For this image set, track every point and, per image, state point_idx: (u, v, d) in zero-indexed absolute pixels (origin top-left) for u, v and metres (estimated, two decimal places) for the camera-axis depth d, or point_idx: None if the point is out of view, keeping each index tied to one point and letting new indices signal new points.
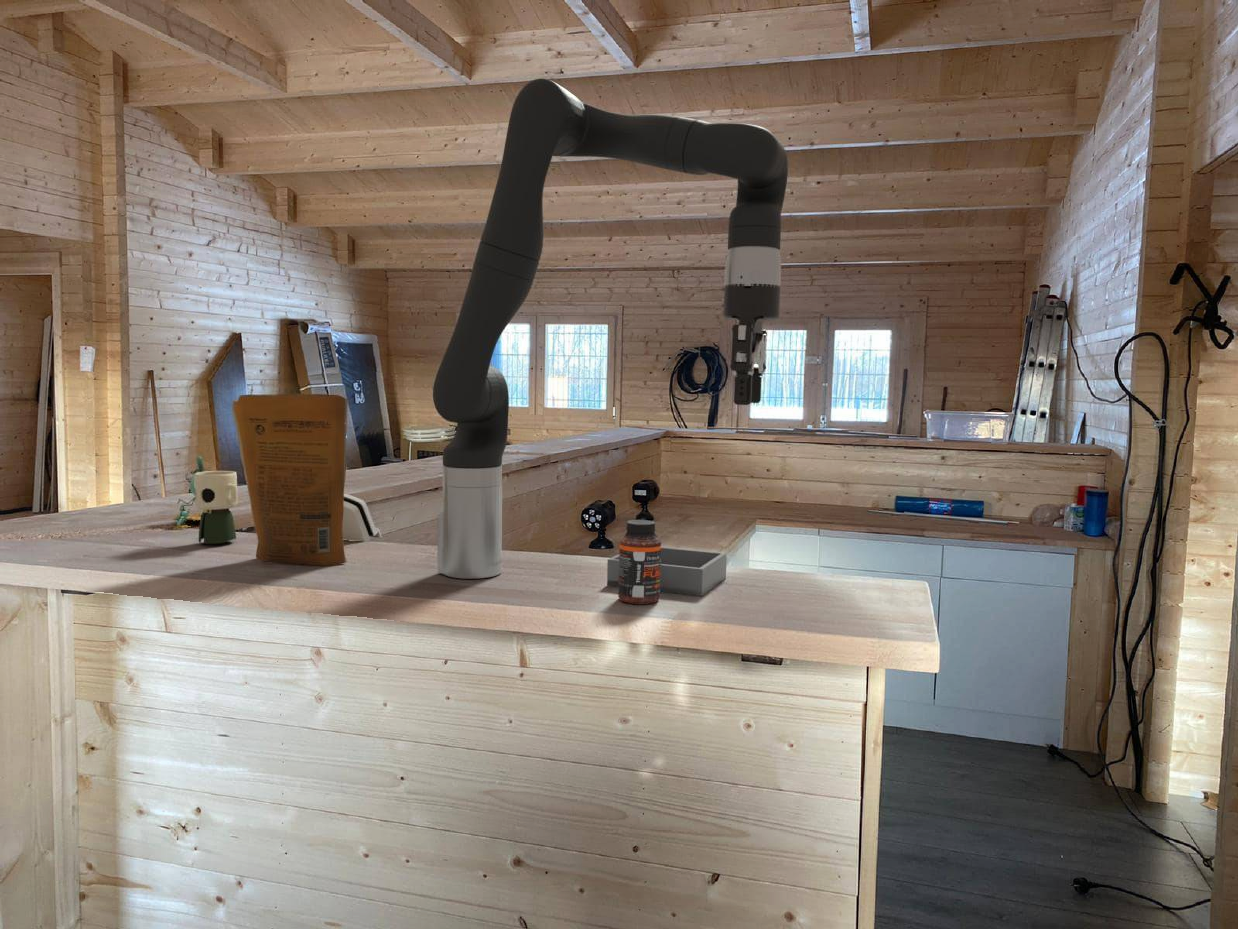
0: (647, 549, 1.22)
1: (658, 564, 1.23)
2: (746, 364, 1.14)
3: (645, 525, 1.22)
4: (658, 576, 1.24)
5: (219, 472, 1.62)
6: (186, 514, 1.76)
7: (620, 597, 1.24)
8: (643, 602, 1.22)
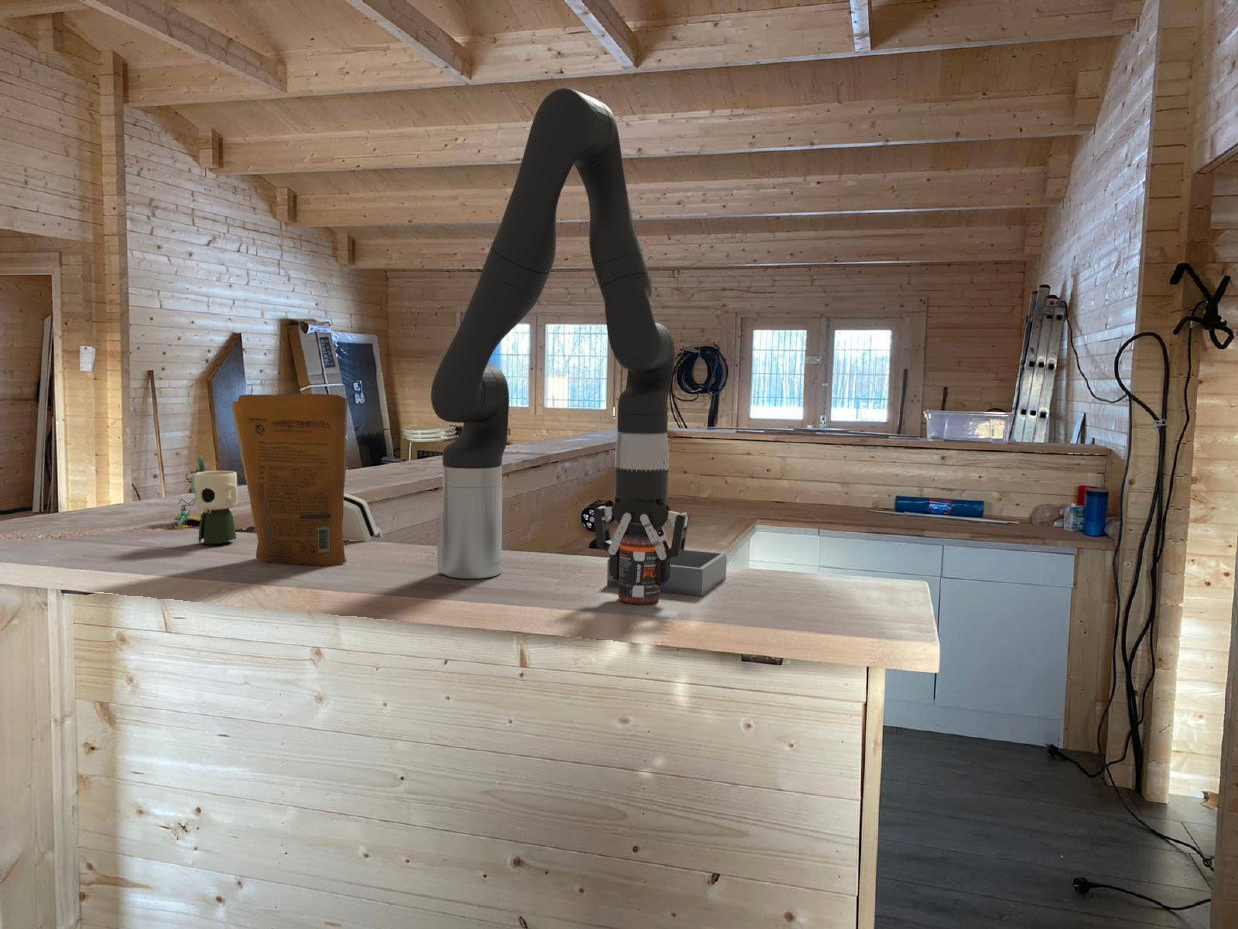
0: (647, 549, 1.22)
1: None
2: (682, 548, 1.23)
3: None
4: None
5: (219, 472, 1.62)
6: (187, 514, 1.76)
7: (620, 597, 1.24)
8: (643, 602, 1.22)
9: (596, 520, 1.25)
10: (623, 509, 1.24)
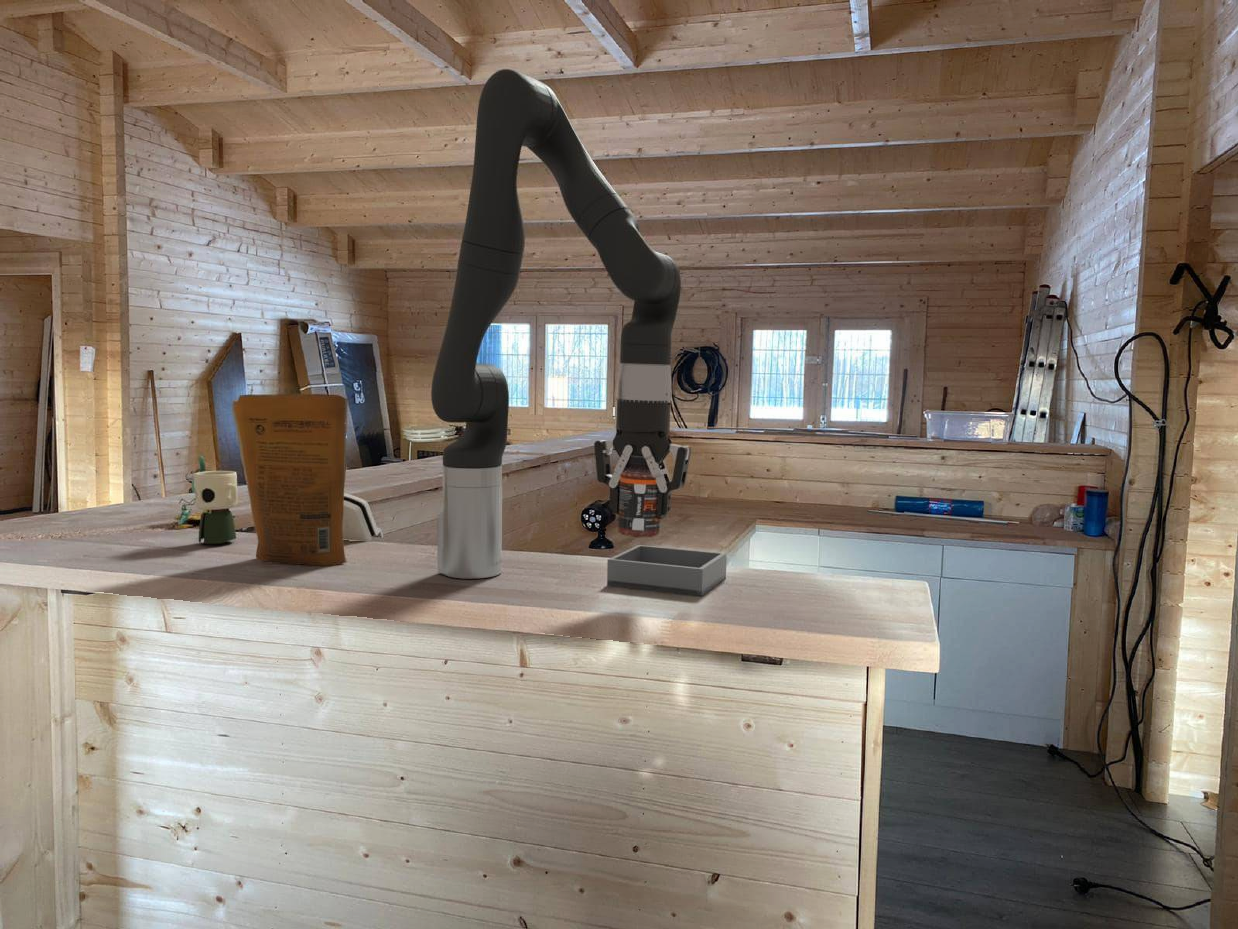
0: (648, 482, 1.21)
1: None
2: (683, 482, 1.22)
3: None
4: None
5: (219, 472, 1.62)
6: (188, 513, 1.76)
7: (620, 530, 1.23)
8: (643, 535, 1.22)
9: (597, 453, 1.25)
10: (624, 442, 1.23)
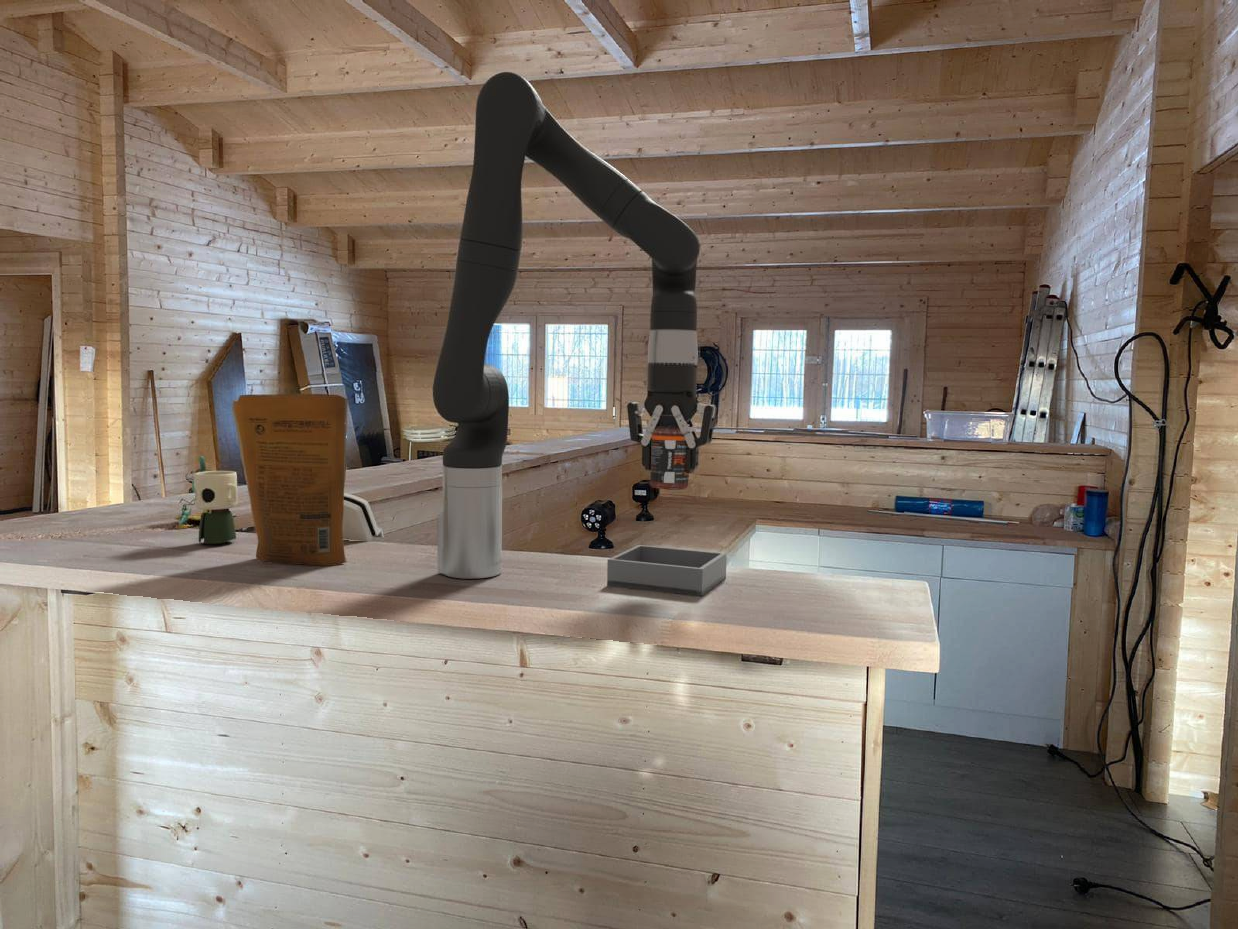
0: (677, 438, 1.32)
1: None
2: (710, 438, 1.33)
3: None
4: None
5: (219, 472, 1.62)
6: (188, 513, 1.76)
7: (652, 484, 1.34)
8: (674, 487, 1.32)
9: (630, 414, 1.35)
10: (655, 402, 1.34)
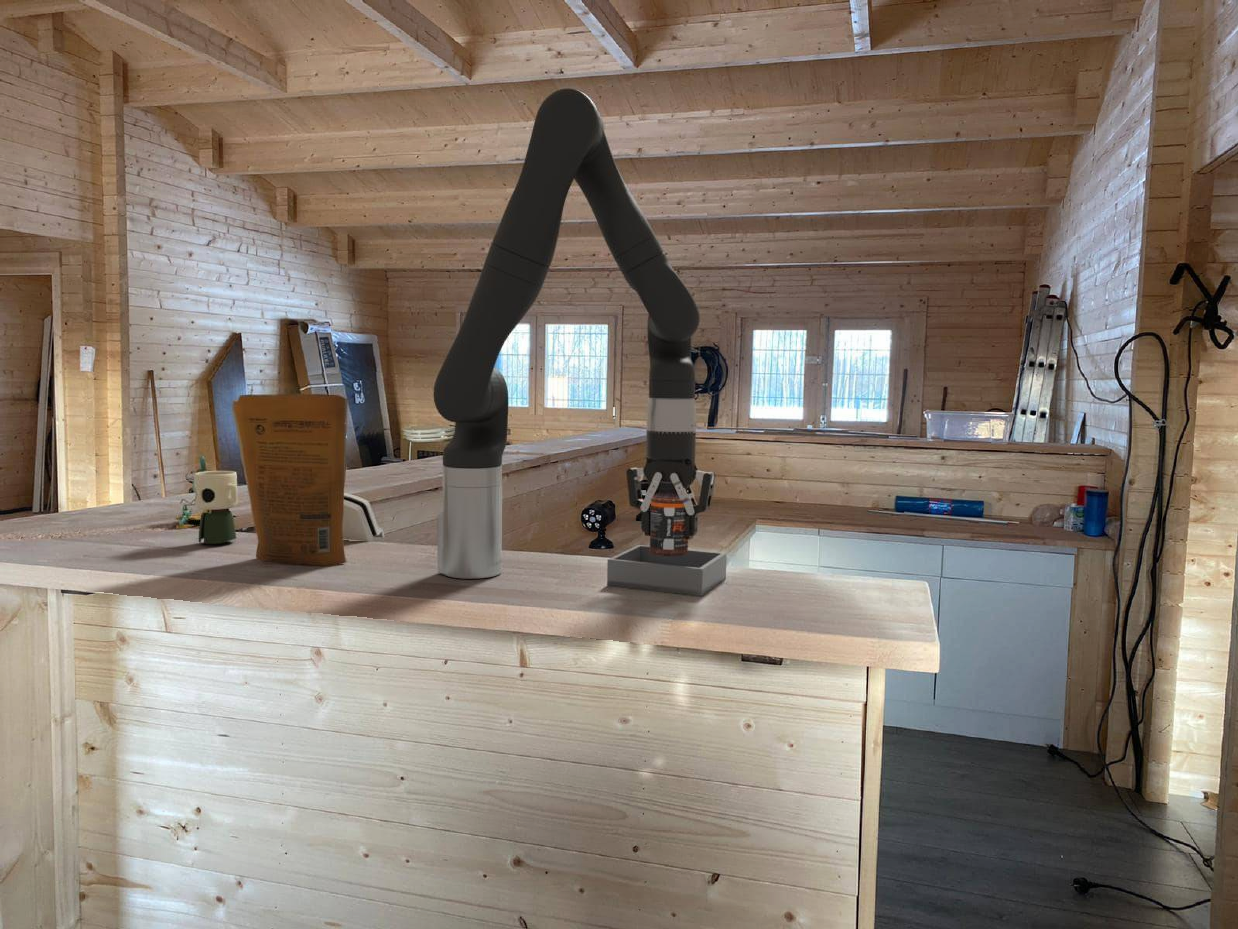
0: (676, 505, 1.33)
1: None
2: (709, 504, 1.34)
3: None
4: None
5: (219, 472, 1.62)
6: (189, 513, 1.77)
7: (652, 550, 1.35)
8: (673, 554, 1.33)
9: (629, 480, 1.36)
10: (654, 469, 1.35)
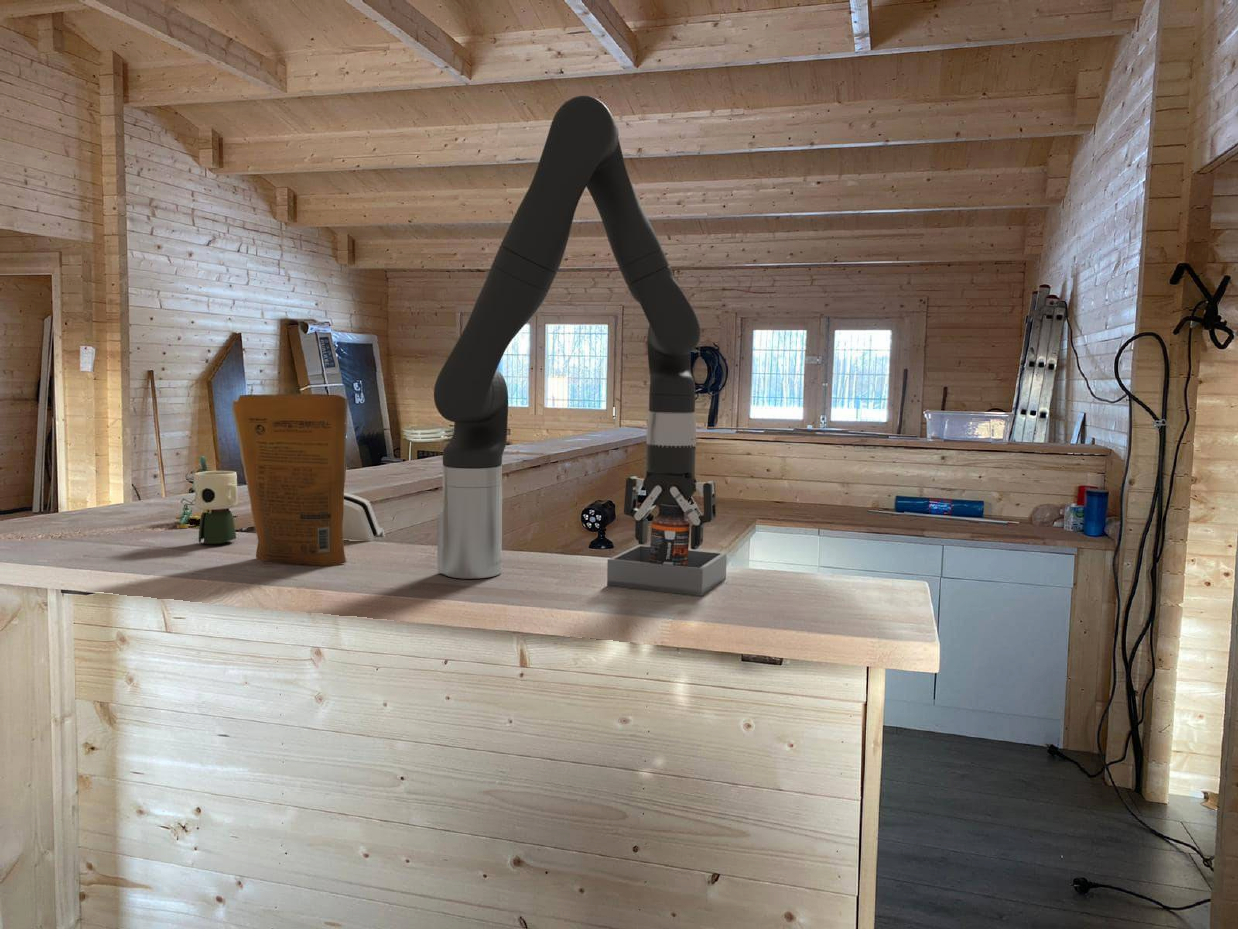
0: (677, 529, 1.33)
1: (686, 543, 1.35)
2: (715, 515, 1.34)
3: (676, 507, 1.34)
4: (686, 554, 1.35)
5: (219, 472, 1.62)
6: (189, 513, 1.77)
7: None
8: None
9: (627, 488, 1.37)
10: (654, 483, 1.35)
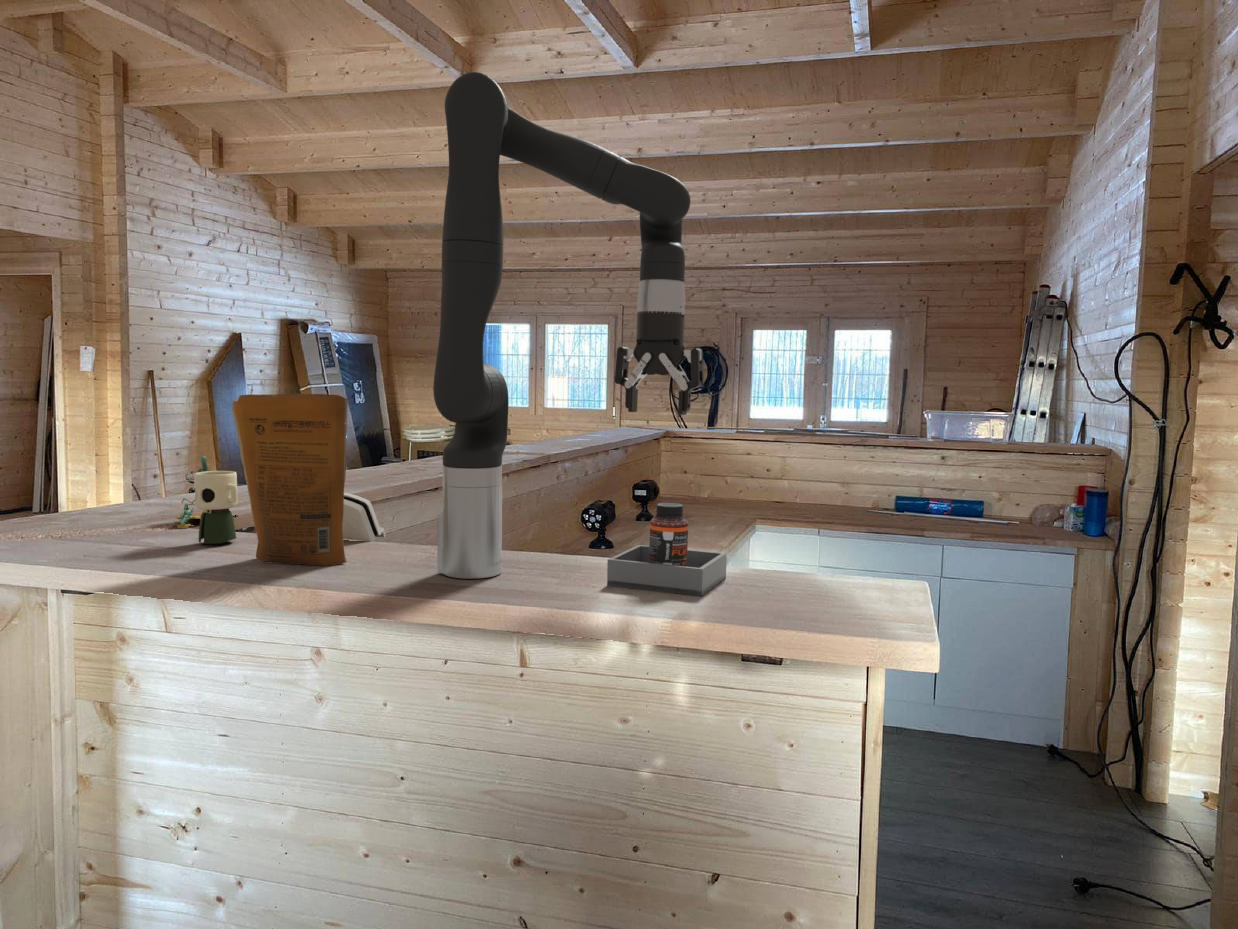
0: (675, 529, 1.33)
1: (685, 543, 1.35)
2: (702, 381, 1.38)
3: (674, 507, 1.34)
4: (685, 554, 1.35)
5: (219, 472, 1.62)
6: (190, 513, 1.77)
7: None
8: None
9: (618, 357, 1.41)
10: (644, 351, 1.40)
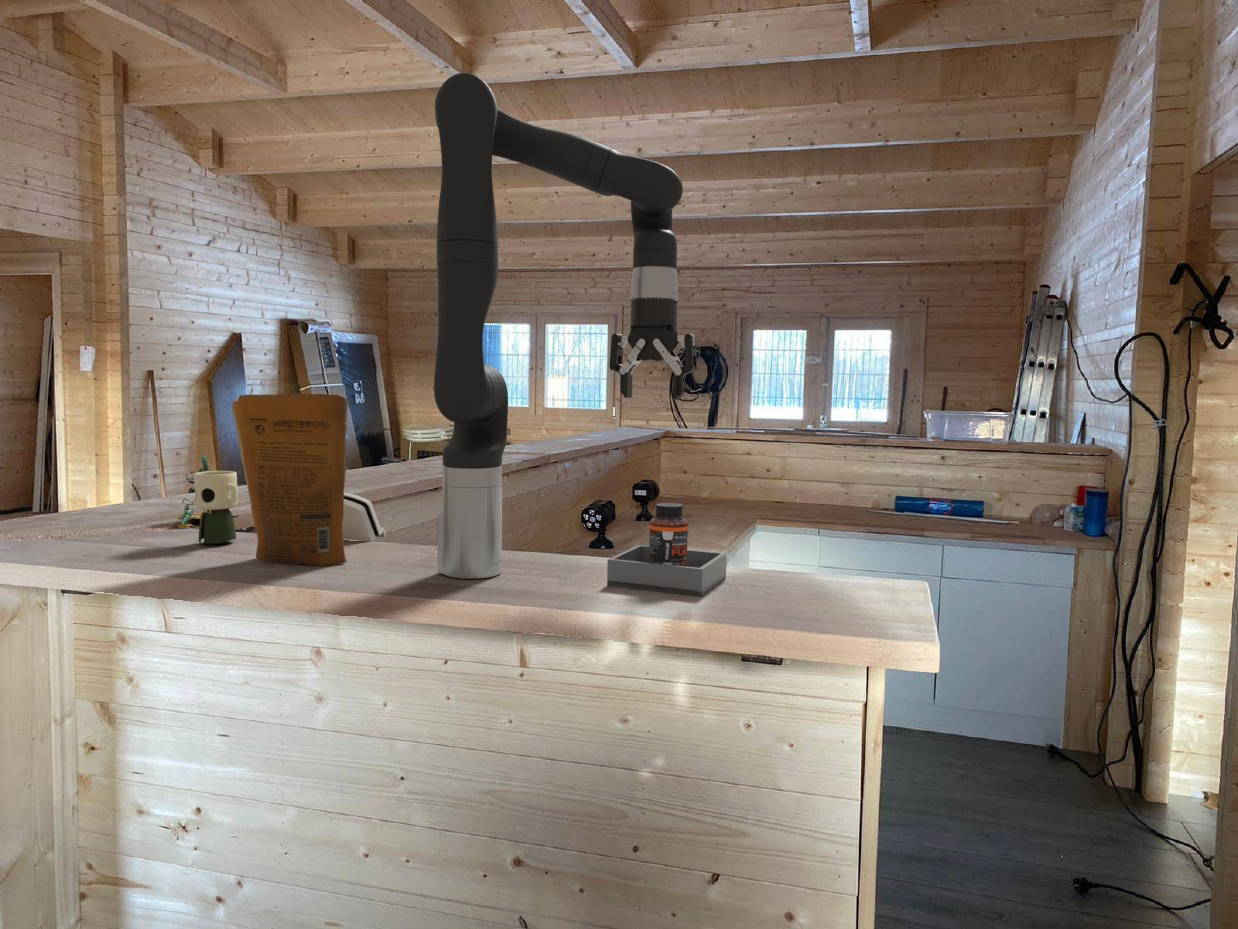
0: (675, 529, 1.33)
1: (685, 543, 1.35)
2: (695, 366, 1.41)
3: (673, 507, 1.34)
4: (685, 554, 1.35)
5: (219, 472, 1.62)
6: (190, 513, 1.77)
7: None
8: None
9: (613, 344, 1.44)
10: (638, 338, 1.42)
